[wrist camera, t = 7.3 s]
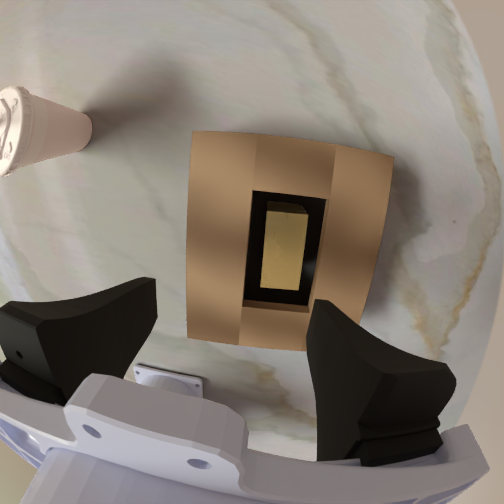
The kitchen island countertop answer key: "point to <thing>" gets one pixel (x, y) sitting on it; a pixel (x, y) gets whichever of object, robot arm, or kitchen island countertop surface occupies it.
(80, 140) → the smoothie
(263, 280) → the block
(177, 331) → the kitchen island countertop surface
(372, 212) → the brown rectangular hollow block
